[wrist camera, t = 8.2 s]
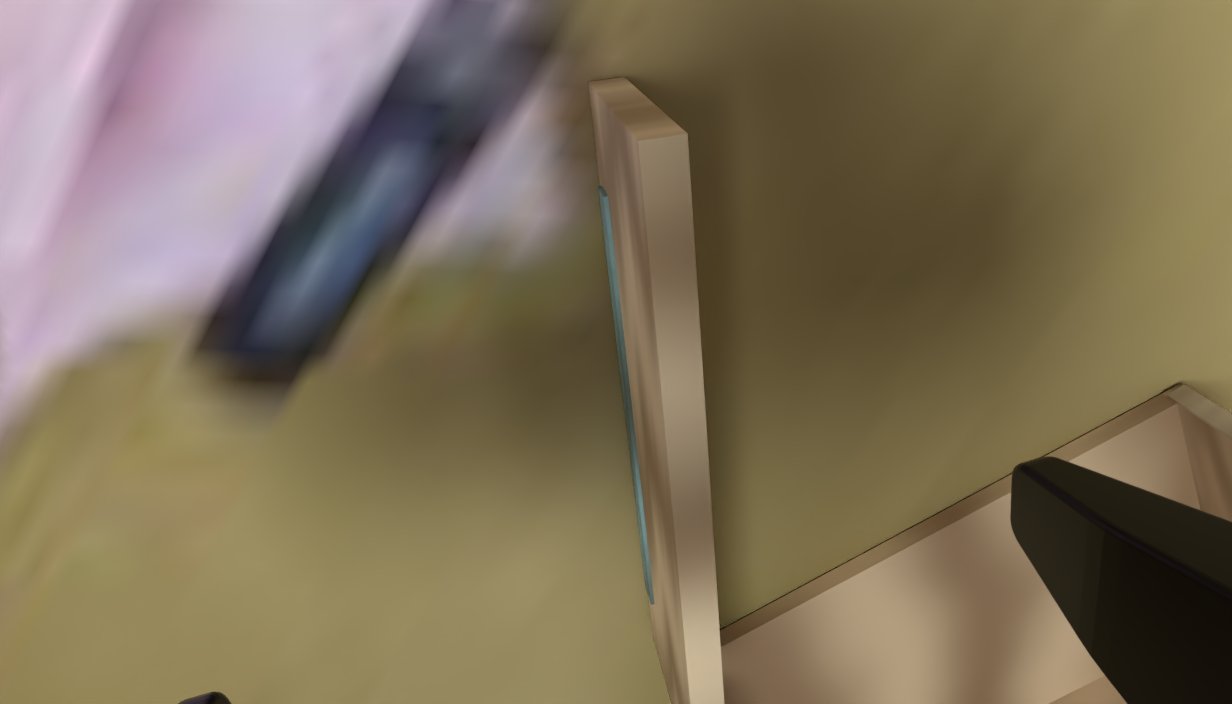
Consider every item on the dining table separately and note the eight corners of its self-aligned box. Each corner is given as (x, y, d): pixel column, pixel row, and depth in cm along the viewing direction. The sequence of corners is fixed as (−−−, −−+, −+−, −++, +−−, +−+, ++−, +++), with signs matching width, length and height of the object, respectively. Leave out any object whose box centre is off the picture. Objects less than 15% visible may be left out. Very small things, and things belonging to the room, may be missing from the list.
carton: (793, 825, 32) (852, 981, 27) (661, 659, 27) (706, 817, 22) (1227, 604, 30) (1370, 730, 26) (1179, 381, 25) (1348, 487, 20)
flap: (678, 632, 26) (730, 797, 21) (650, 638, 26) (695, 805, 21) (624, 76, 18) (687, 133, 13) (583, 82, 18) (631, 141, 13)
